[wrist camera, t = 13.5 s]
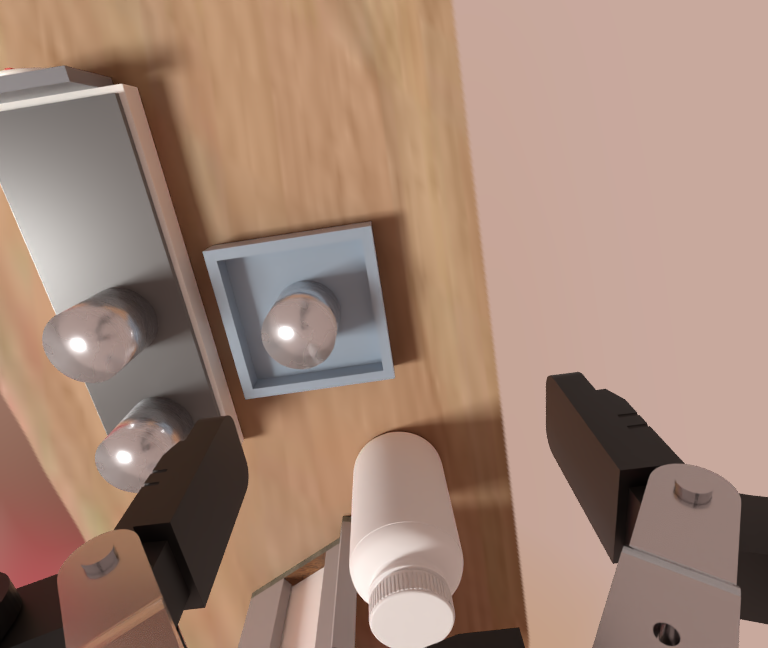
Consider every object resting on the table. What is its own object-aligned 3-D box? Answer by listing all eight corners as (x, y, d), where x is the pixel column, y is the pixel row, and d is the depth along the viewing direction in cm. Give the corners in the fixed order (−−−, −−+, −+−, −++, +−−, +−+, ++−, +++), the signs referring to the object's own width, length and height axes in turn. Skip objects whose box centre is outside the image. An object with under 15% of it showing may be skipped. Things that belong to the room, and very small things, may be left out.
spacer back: (120, 402, 37) (83, 439, 32) (182, 392, 37) (154, 428, 32) (142, 454, 38) (110, 497, 34) (201, 445, 38) (178, 487, 34)
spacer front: (269, 285, 36) (253, 306, 31) (333, 275, 35) (328, 295, 31) (283, 345, 37) (270, 373, 33) (345, 336, 37) (341, 363, 32)
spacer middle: (77, 292, 34) (29, 316, 29) (145, 282, 33) (107, 305, 29) (102, 355, 35) (61, 387, 31) (167, 346, 35) (135, 377, 30)
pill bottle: (457, 478, 43) (497, 638, 29) (381, 513, 44) (384, 683, 30) (416, 413, 41) (439, 555, 27) (337, 452, 42) (319, 607, 28)
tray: (212, 245, 35) (202, 251, 33) (371, 221, 35) (371, 225, 33) (251, 386, 39) (245, 399, 37) (393, 365, 39) (394, 378, 37)
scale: (-16, 90, 31) (-85, 81, 26) (130, 66, 31) (87, 52, 26) (133, 454, 41) (102, 493, 37) (243, 439, 41) (227, 476, 36)
